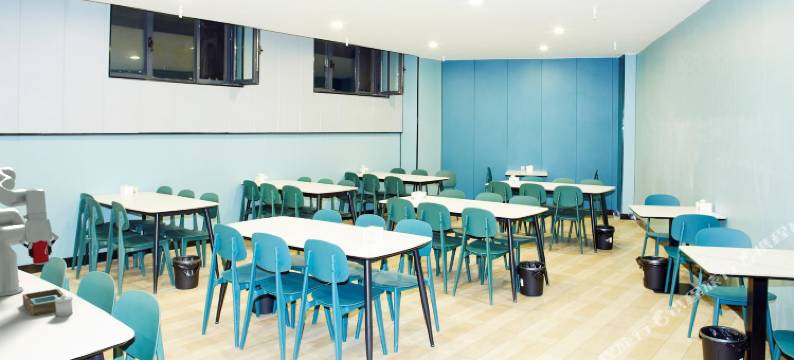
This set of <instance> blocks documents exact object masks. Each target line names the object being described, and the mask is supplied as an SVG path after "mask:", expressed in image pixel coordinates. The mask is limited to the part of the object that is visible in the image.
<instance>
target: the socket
mask: <svg viewBox="0 0 794 360" xmlns="http://www.w3.org/2000/svg"><path fill="white" fill-rule="evenodd" d="M56 298H59V297H58V296H57V295H52V296H46V297H40V298H34V299H30V301H31V303H32V304H33V305H35V304H40V303H46V302H52V301H54V299H56Z"/></svg>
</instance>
